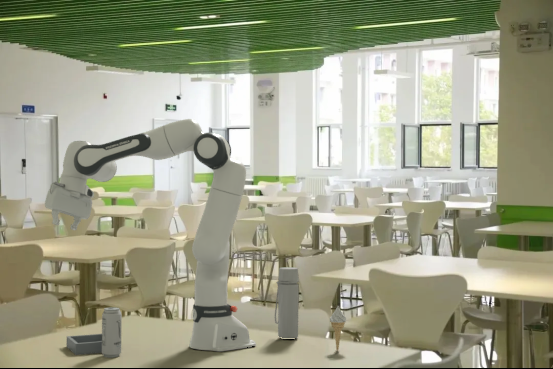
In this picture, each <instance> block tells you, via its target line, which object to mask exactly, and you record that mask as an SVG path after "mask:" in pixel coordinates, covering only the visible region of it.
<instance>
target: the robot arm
mask: <svg viewBox="0 0 553 369" xmlns="http://www.w3.org/2000/svg"><path fill="white" fill-rule="evenodd" d="M188 152H192V153H193V154H194V156H195V158H196V159H197V161H198V162H199V163H201V164H203V166H204V165H205V166H206V167H207V168H209V169H211V170H212V171H213V178H212V182H211V185H210V189H209V192H208V196H207V199H206V204H205V206H204V210H203V213H202V216H201V218H200V221H199V223H198V226H197V230H196V233H195V237H194V239H193V241H192V246H191V251H192V255H193V257H194V258H195V260H196V268H195V269H196V270H195V277H194V300H193V301H194V304H193V305H192V321H193V325H192V332H191V333H192V334H191V338H190V340H189V348H191V349H194V350H200V351H201V350H202V351H214V352H226V351H233V350H239V349H240V350H241V349H247V347H248V348H253V347H252V346H255V347H257V343H256V341H255V340H253V339H252V338H250V334H249V329H248V327H247V325H245V324H244V323H243V322H242V321H241V320H239V319H238V318H237V317H235V316H234V315H233V313H237V312H238V307H237V306H236V305H231V304H229V303H228V282H229V281H228V278H229V267H230V248H231V246H230V244H231V242H230V237H231V234H232V232H233V228H234V225H235V223H236V220H237V217H238V213H239V209H240V205H241V203H242V199H243V198H242V197H243V194H244V191H245V185H246V178H247V168H246V166H245V164H244V163H243V162H241V161H240V160H238V159H234V158H233V157H231V155H232V147H231V145H230V142H229V141H228V139H226V138H225V137H224V136H223V135H221V134H219V133H214V132H205V133H204V132H203V130H202V127H201V126H200V124H199V123H198V122H197V121H196V120H195V119H192V118H185V119H180V120H176V121H171V122H169V123H166V124H163V125H161V126H158V127H156V128H152V129H151V130H150V129H149V130H146V131H145V132H141V133H137V134H134V135H130V136H126V137H123V138H119V139H117V140H113V141H109V142H107V143H102V144H92V143H90V142H88V141H86V140H85V141H84V140H74V141H72V142H70V143H69V144H68V146H67V147H66V151H65V152H64V153H65V154H64V158H63V162H62V163H63V164H62V169H63V170H62V173H61V174H60V178H59V182H58V181H54V182H52V183H51V184H50V187H49V189H48V191H47V194H46V197H45V201H44V207H45V208H46V209H48V210H51V216H52V222H51V223H52V225H56V226H59V225H60V221H61V219H59V215H60V214H64V215H67V216H70V217H73V223H71V224H70V226H69V227H70V230H72V231H77V229H78V226H79V224H80V223H82V222H81V221H82V220H88V219H89V218H90V217H91V212H92V207H93V200H92V199H93V198H95V197H94V196H95V192H94V191H93V190H92V189H91V188H90V187H89V185H87V181H88V179H91V180H94V181H96V182H99V183H100V182H101V183H105V182H109V181H111V180H112V179H113V178H114V177H115V175H116V174H117V169H118V168H117V163H116V161H118V160H123V159H125V158H129V157H134V156H135V157H143V158H144V157H145V158H148V159H151V160H155V161H160V160H166V159H167V160H168V159H170V158H174V157H176V156H178V155H181V154H183V153H188Z"/></svg>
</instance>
